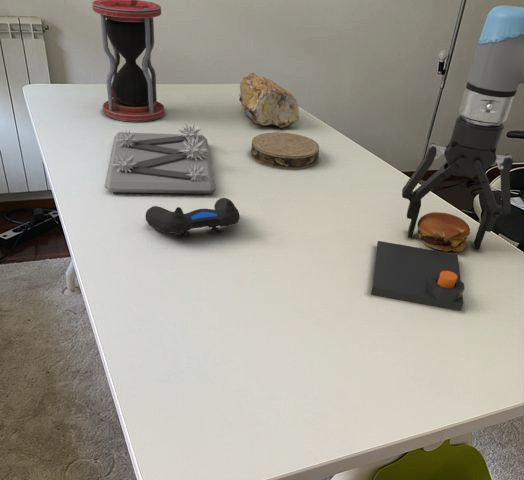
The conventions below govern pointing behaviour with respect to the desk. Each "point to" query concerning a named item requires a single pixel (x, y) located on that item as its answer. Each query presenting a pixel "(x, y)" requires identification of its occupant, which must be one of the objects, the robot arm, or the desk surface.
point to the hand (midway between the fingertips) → (442, 240)
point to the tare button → (447, 279)
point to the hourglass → (130, 59)
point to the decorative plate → (160, 163)
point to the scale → (416, 275)
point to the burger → (443, 231)
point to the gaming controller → (193, 217)
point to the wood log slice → (284, 150)
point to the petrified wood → (267, 102)
